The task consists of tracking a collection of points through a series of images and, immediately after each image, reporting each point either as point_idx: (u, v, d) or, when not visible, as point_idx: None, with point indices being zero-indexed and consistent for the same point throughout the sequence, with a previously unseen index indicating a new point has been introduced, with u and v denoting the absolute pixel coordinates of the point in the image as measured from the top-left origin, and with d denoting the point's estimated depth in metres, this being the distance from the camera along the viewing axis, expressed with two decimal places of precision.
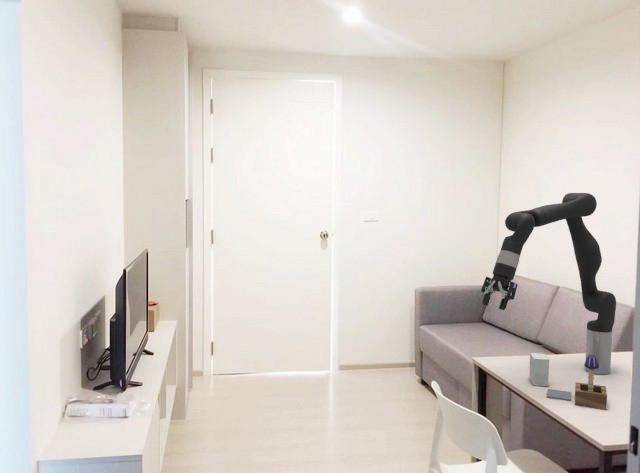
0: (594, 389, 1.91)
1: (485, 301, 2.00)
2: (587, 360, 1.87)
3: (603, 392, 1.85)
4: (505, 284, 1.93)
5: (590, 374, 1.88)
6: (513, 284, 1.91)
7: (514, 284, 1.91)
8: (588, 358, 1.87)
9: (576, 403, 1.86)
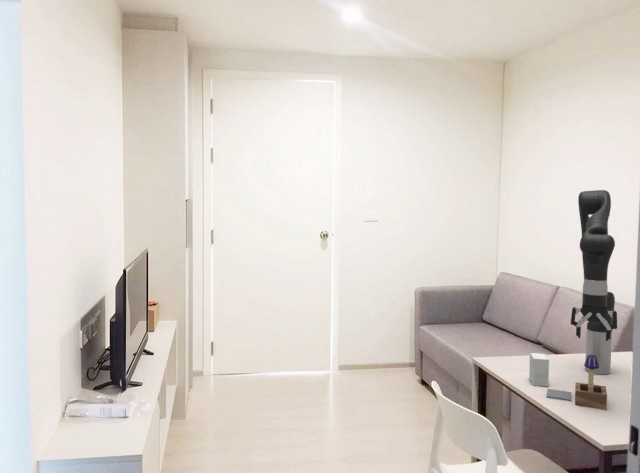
0: (594, 389, 1.91)
1: None
2: (587, 360, 1.87)
3: (603, 392, 1.85)
4: (605, 314, 1.84)
5: (590, 374, 1.88)
6: (616, 313, 1.83)
7: (616, 313, 1.83)
8: (588, 358, 1.87)
9: (576, 403, 1.86)
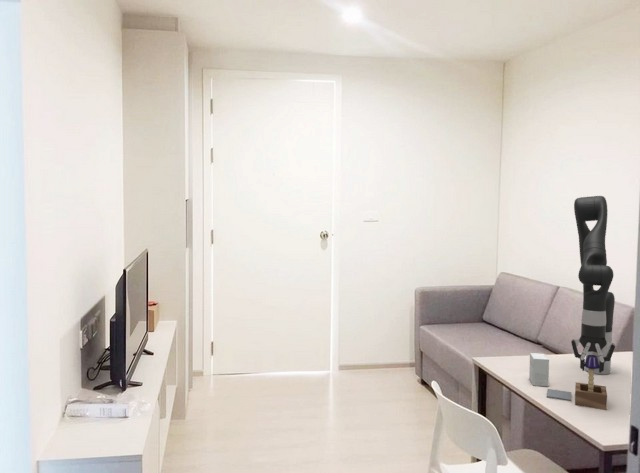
0: (594, 389, 1.91)
1: (584, 366, 1.88)
2: (587, 360, 1.87)
3: (603, 392, 1.85)
4: (603, 347, 1.85)
5: (590, 374, 1.88)
6: (614, 347, 1.84)
7: (614, 347, 1.84)
8: (588, 358, 1.87)
9: (576, 403, 1.86)
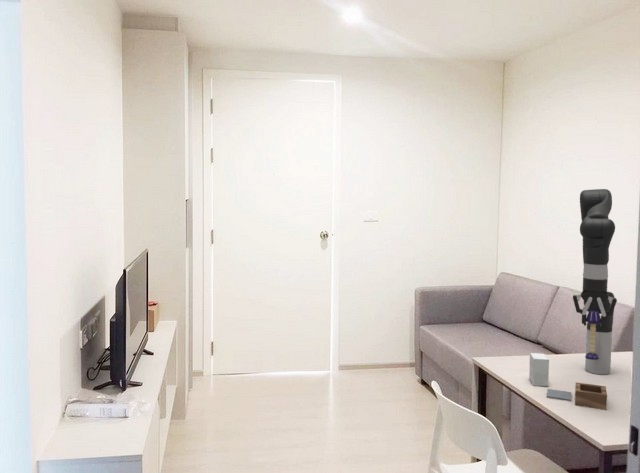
0: (594, 389, 1.91)
1: None
2: (589, 315, 1.86)
3: (603, 392, 1.85)
4: (605, 301, 1.84)
5: (592, 329, 1.86)
6: (616, 301, 1.83)
7: None
8: (590, 313, 1.86)
9: (576, 403, 1.86)
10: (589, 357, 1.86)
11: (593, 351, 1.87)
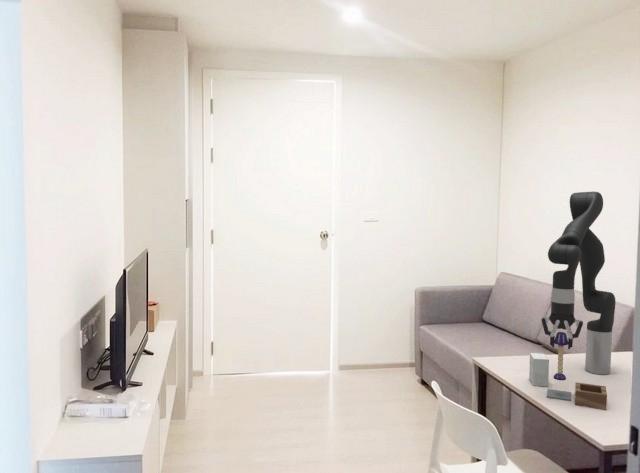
0: (594, 389, 1.91)
1: None
2: (557, 337, 1.93)
3: (603, 392, 1.85)
4: None
5: (560, 350, 1.94)
6: (582, 324, 1.90)
7: (582, 323, 1.90)
8: (558, 335, 1.93)
9: (576, 403, 1.86)
10: (556, 378, 1.93)
11: (561, 372, 1.94)
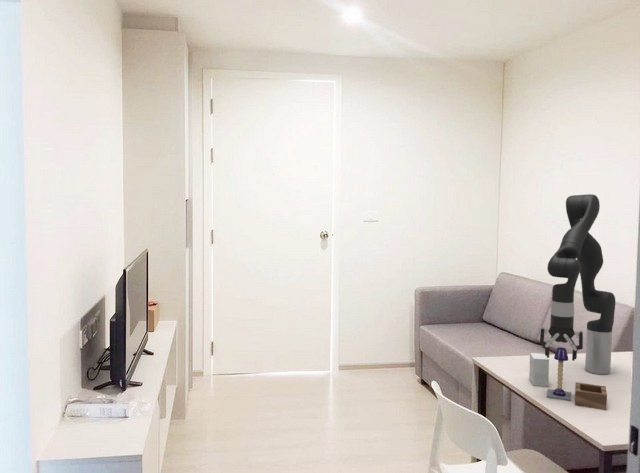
0: (594, 389, 1.91)
1: None
2: (557, 352, 1.94)
3: (603, 392, 1.85)
4: (572, 335, 1.91)
5: (559, 366, 1.94)
6: (582, 335, 1.90)
7: (582, 334, 1.90)
8: (558, 350, 1.94)
9: (576, 403, 1.86)
10: (556, 393, 1.94)
11: (560, 387, 1.94)
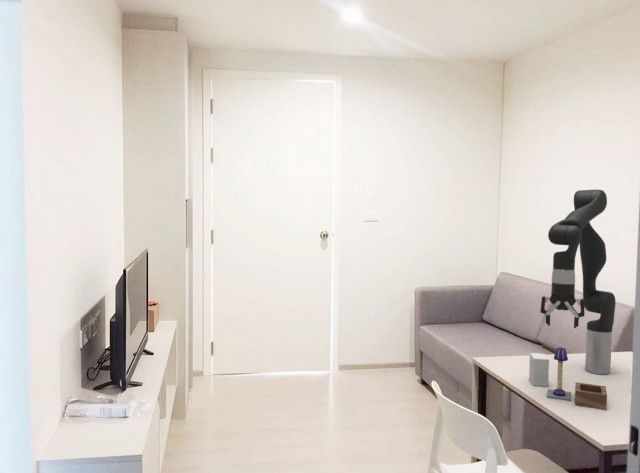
0: (594, 389, 1.91)
1: (549, 322, 1.94)
2: (556, 353, 1.94)
3: (603, 392, 1.85)
4: (573, 303, 1.90)
5: (559, 366, 1.94)
6: (584, 301, 1.89)
7: (584, 301, 1.89)
8: (557, 351, 1.94)
9: (576, 403, 1.86)
10: (556, 393, 1.94)
11: (560, 387, 1.94)
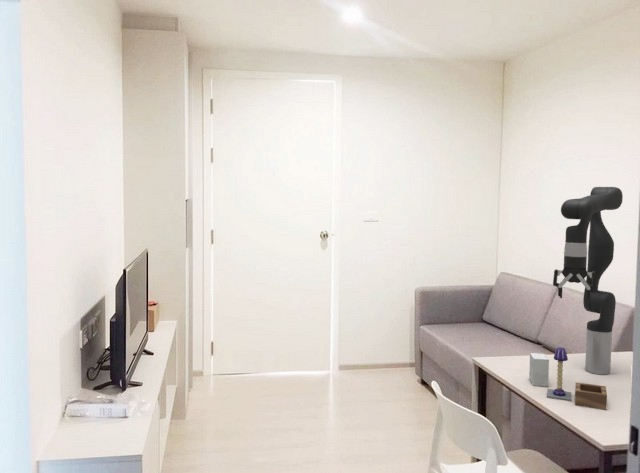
0: (594, 389, 1.91)
1: None
2: (556, 353, 1.94)
3: (603, 392, 1.85)
4: (585, 275, 1.96)
5: (559, 366, 1.94)
6: (595, 274, 1.95)
7: (595, 273, 1.95)
8: (557, 351, 1.94)
9: (576, 403, 1.86)
10: (556, 393, 1.94)
11: (560, 387, 1.94)
